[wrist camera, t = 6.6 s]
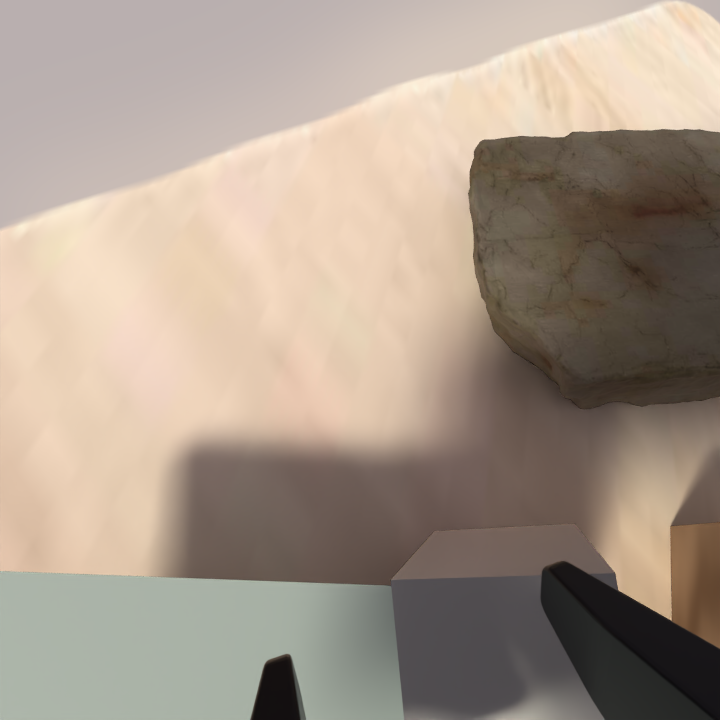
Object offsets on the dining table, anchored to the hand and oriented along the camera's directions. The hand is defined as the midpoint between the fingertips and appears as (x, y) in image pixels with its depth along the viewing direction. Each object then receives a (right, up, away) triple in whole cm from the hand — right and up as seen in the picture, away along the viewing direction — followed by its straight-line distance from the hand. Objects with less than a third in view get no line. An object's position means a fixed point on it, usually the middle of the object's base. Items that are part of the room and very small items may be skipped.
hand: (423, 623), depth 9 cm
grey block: (+4, -4, +10) cm, 11 cm away
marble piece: (+12, +9, +20) cm, 25 cm away
